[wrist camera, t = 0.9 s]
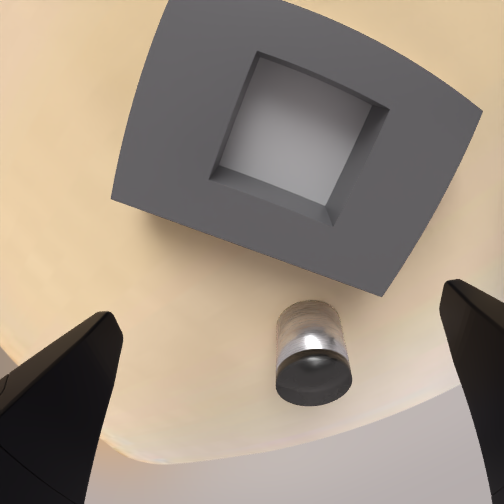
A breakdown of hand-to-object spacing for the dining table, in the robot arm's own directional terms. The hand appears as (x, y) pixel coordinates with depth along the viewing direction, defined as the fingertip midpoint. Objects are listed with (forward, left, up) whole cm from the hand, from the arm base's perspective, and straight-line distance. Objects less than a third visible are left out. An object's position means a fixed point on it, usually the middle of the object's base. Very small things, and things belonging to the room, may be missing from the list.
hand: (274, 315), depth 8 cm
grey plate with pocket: (0, -3, -13) cm, 13 cm away
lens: (-7, +10, -13) cm, 18 cm away
